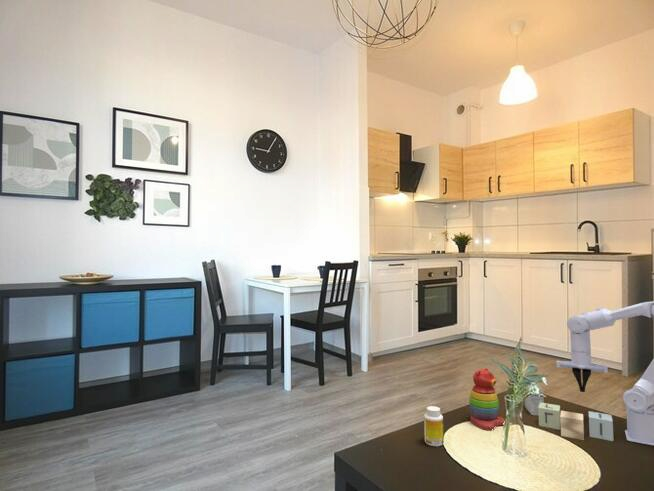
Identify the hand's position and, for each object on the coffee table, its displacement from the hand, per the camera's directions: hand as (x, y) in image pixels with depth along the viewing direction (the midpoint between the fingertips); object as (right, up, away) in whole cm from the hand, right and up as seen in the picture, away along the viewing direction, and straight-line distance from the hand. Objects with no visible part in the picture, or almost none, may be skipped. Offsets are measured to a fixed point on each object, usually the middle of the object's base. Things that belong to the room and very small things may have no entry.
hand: (582, 391), depth 133 cm
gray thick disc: (-11, -11, +9) cm, 19 cm away
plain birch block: (-10, -10, -10) cm, 17 cm away
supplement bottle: (-55, -10, -15) cm, 58 cm away
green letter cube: (-12, -11, -2) cm, 16 cm away
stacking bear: (-33, -11, 0) cm, 35 cm away
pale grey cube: (-1, -10, -11) cm, 15 cm away
